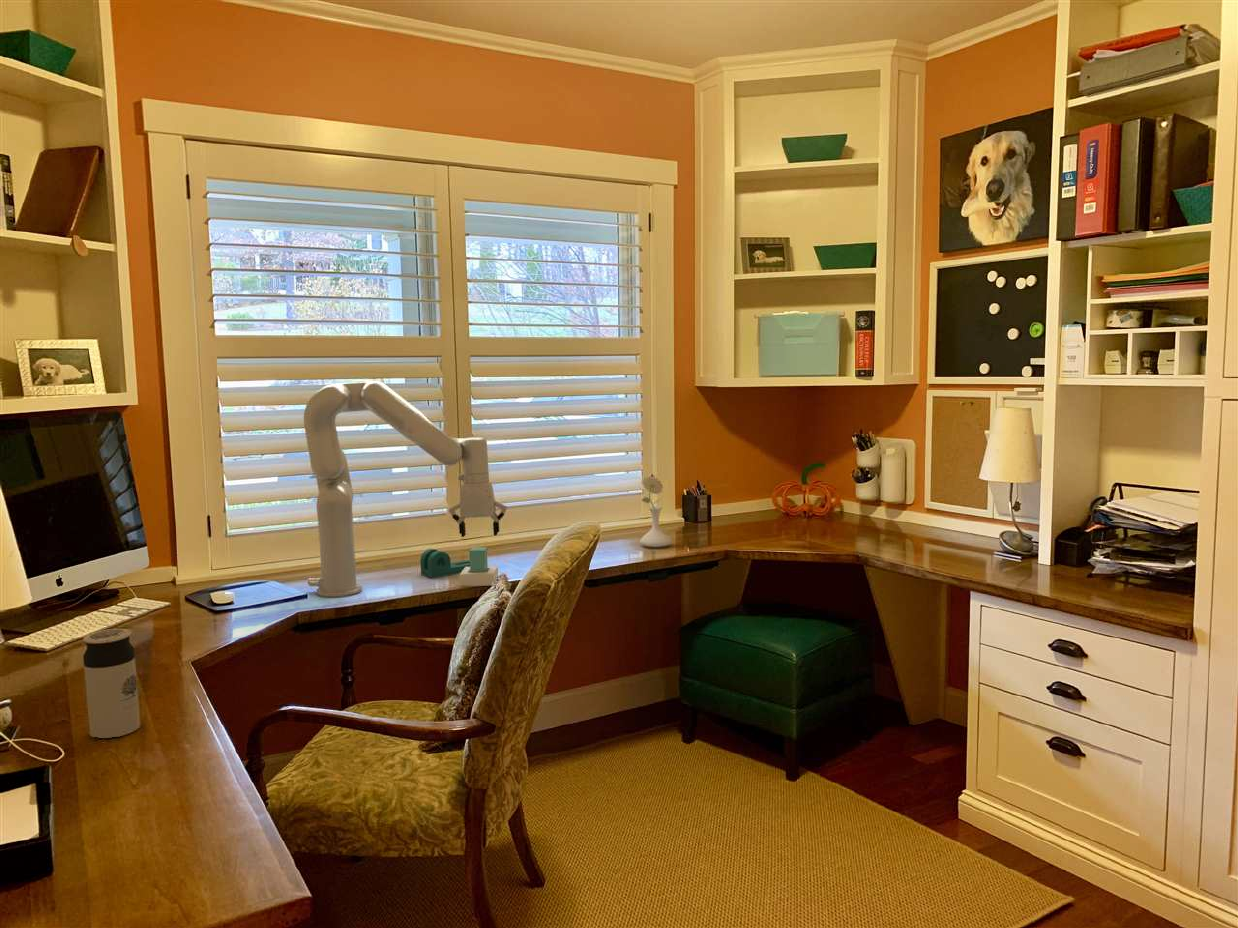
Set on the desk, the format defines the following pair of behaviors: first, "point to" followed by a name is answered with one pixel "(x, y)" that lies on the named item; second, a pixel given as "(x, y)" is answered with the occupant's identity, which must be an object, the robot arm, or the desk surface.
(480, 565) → the teal peg
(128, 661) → the travel mug
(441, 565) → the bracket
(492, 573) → the pocket block
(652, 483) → the flower in vase
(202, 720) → the desk surface
